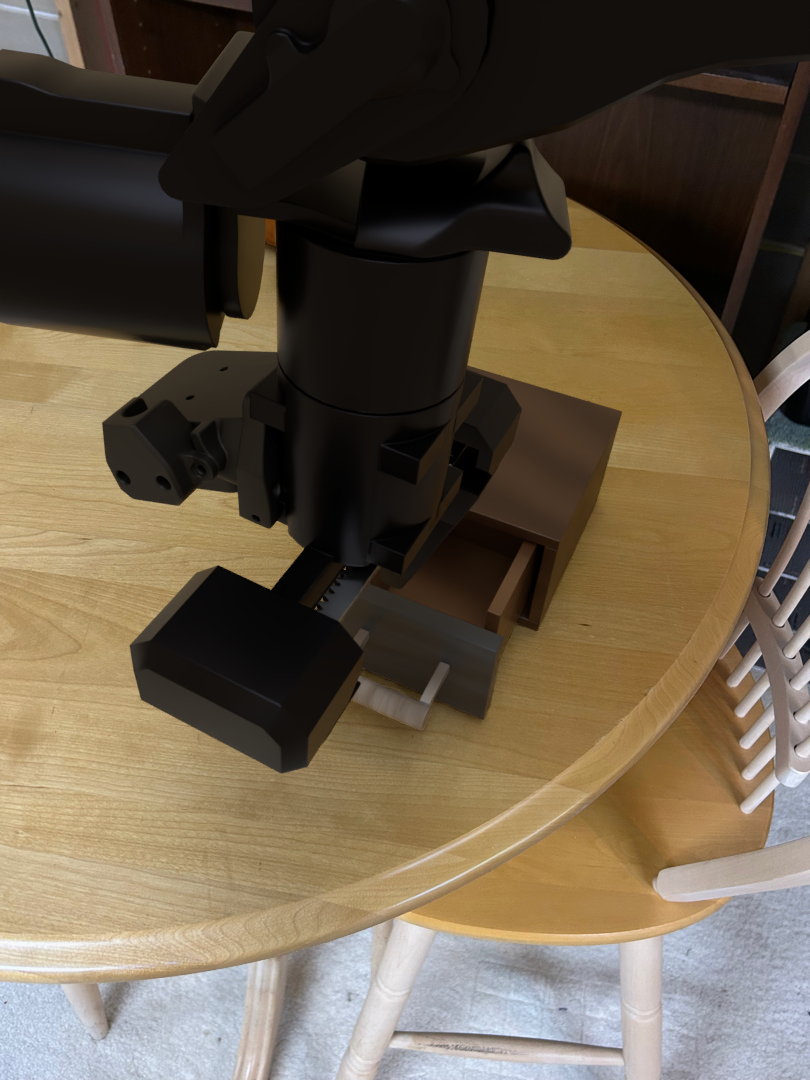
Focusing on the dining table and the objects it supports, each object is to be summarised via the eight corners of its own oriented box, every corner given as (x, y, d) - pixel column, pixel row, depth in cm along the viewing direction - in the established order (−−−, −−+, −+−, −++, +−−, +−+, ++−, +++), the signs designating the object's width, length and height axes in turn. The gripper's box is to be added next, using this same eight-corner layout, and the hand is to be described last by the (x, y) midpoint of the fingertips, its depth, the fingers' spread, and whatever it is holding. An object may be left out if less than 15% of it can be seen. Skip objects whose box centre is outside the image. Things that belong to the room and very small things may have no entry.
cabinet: (537, 631, 52) (559, 541, 46) (378, 570, 55) (379, 478, 49) (596, 502, 61) (622, 410, 54) (455, 455, 64) (464, 364, 58)
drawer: (454, 781, 44) (465, 716, 39) (290, 707, 47) (281, 637, 42) (551, 574, 54) (569, 502, 49) (413, 524, 57) (416, 451, 52)
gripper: (302, 176, 32) (298, 466, 43) (-86, 429, 20) (50, 738, 31) (564, 262, 29) (487, 546, 41) (300, 610, 17) (296, 875, 29)
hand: (346, 652), depth 36 cm, fingers open, 9 cm apart
